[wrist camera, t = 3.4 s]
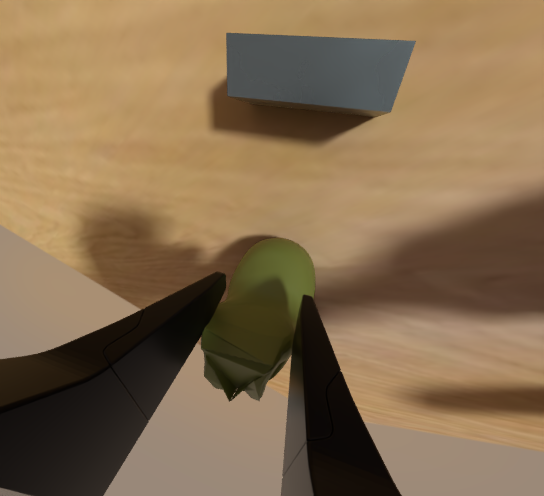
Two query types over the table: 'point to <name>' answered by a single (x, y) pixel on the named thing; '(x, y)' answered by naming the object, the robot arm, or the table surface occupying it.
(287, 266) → the pear
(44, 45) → the table surface
